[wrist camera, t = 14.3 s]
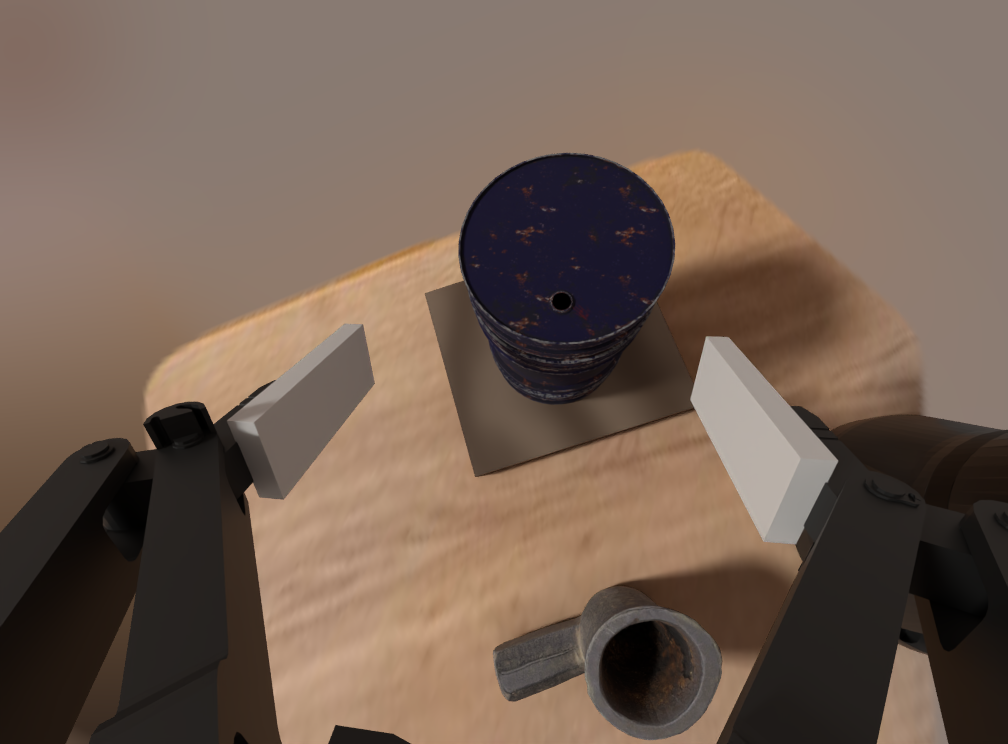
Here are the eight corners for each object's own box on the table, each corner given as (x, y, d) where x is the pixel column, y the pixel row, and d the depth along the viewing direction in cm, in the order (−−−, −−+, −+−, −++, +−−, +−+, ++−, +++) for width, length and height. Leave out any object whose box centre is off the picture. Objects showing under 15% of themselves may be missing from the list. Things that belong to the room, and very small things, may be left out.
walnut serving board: (620, 238, 36) (624, 228, 34) (695, 407, 32) (702, 404, 30) (429, 300, 36) (424, 293, 35) (478, 476, 32) (475, 476, 30)
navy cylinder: (498, 287, 34) (466, 151, 20) (616, 290, 33) (674, 148, 19) (488, 403, 32) (444, 343, 17) (616, 410, 31) (681, 353, 16)
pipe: (490, 615, 29) (472, 665, 22) (654, 557, 29) (694, 586, 22) (518, 709, 28) (508, 799, 20) (692, 648, 28) (749, 714, 20)
